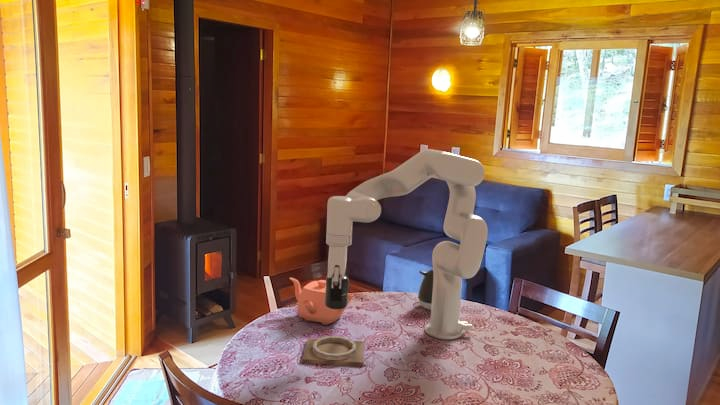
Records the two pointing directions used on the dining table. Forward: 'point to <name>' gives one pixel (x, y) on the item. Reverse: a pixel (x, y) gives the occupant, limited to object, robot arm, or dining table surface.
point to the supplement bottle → (344, 287)
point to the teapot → (315, 302)
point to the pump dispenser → (426, 289)
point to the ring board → (334, 351)
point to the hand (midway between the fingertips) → (336, 295)
